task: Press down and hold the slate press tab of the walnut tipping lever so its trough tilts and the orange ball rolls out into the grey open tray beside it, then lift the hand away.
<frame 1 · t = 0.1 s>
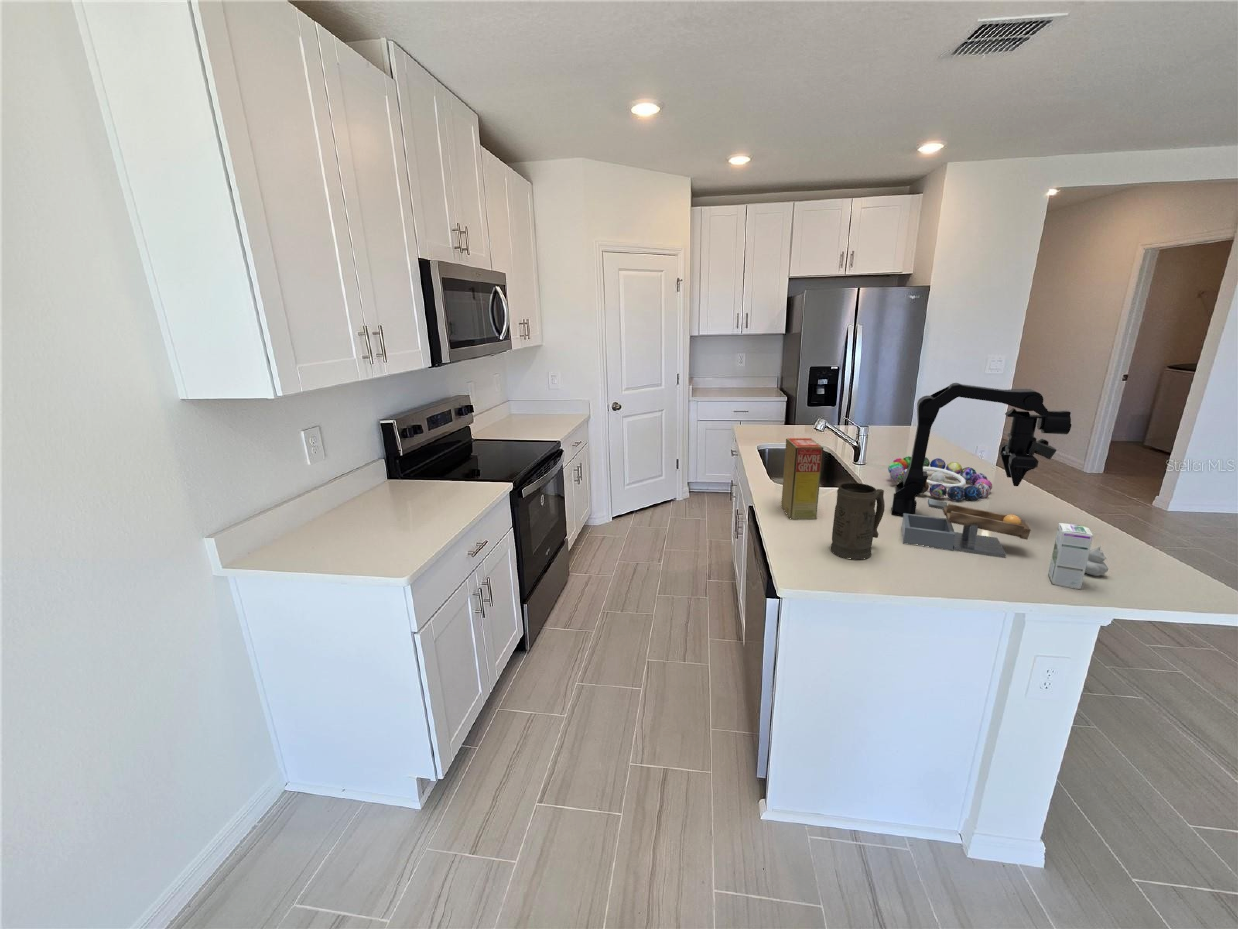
hand: (1012, 481, 155), 15 cm above the countertop, tool pointing down, fingers open, 9 cm apart
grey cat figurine: (1088, 573, 129), on the countertop
lever stand: (967, 544, 147), on the countertop
syrup box: (1063, 582, 126), on the countertop
beer stein: (856, 550, 146), on the countertop
tipping lever: (975, 513, 148), point 8 cm above the countertop, hinge at 6.0°, touching ball
food packaging: (798, 512, 175), on the countertop
grey open tray: (925, 538, 152), on the countertop
decorated egg ring holder: (936, 488, 195), on the countertop
ball: (1011, 521, 141), point 9 cm above the countertop, tilted 60°, touching tipping lever
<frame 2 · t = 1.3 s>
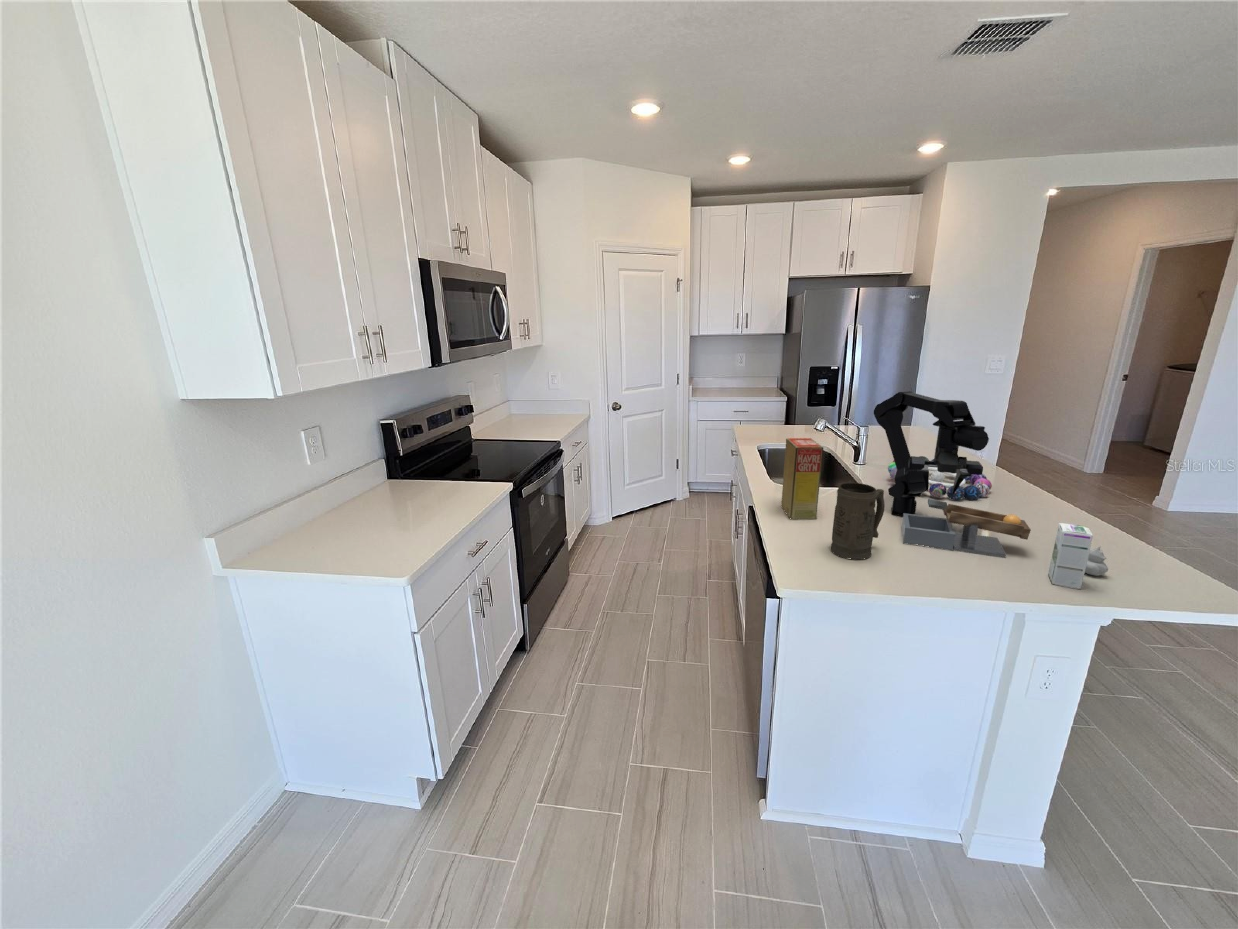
hand: (940, 491, 156), 12 cm above the countertop, tool pointing down, fingers open, 7 cm apart
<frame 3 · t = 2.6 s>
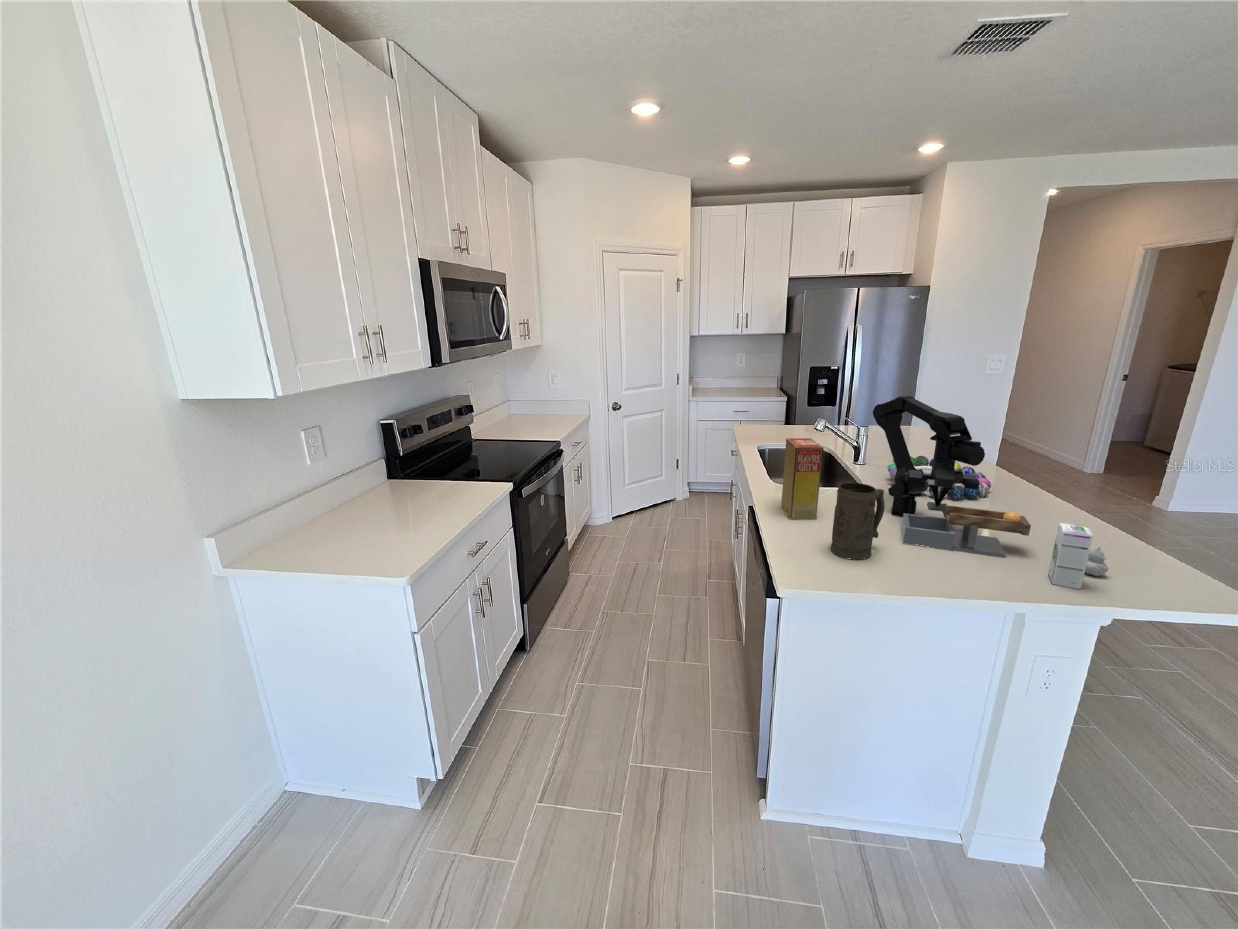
hand: (937, 505, 157), 8 cm above the countertop, tool pointing down, fingers closed, pressing on tipping lever
tipping lever: (974, 513, 148), point 8 cm above the countertop, hinge at 0.4°, touching ball, gripper
ball: (1011, 518, 141), point 9 cm above the countertop, tilted 54°, touching tipping lever
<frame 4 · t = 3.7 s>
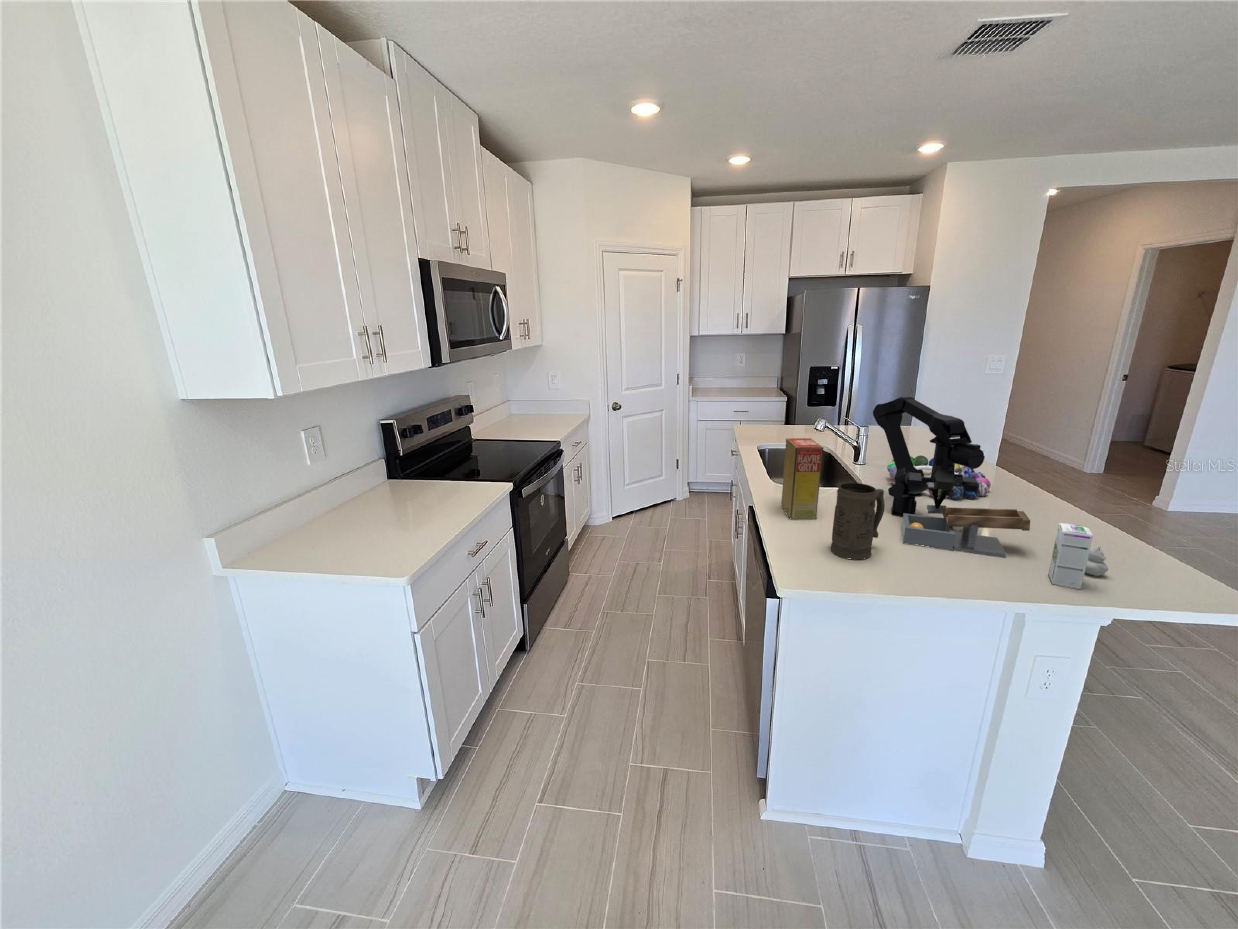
hand: (936, 507, 157), 7 cm above the countertop, tool pointing down, fingers closed, pressing on tipping lever
tipping lever: (974, 512, 148), point 8 cm above the countertop, hinge at -6.2°, touching gripper
ball: (916, 529, 152), point 3 cm above the countertop, tilted 115°, touching grey open tray
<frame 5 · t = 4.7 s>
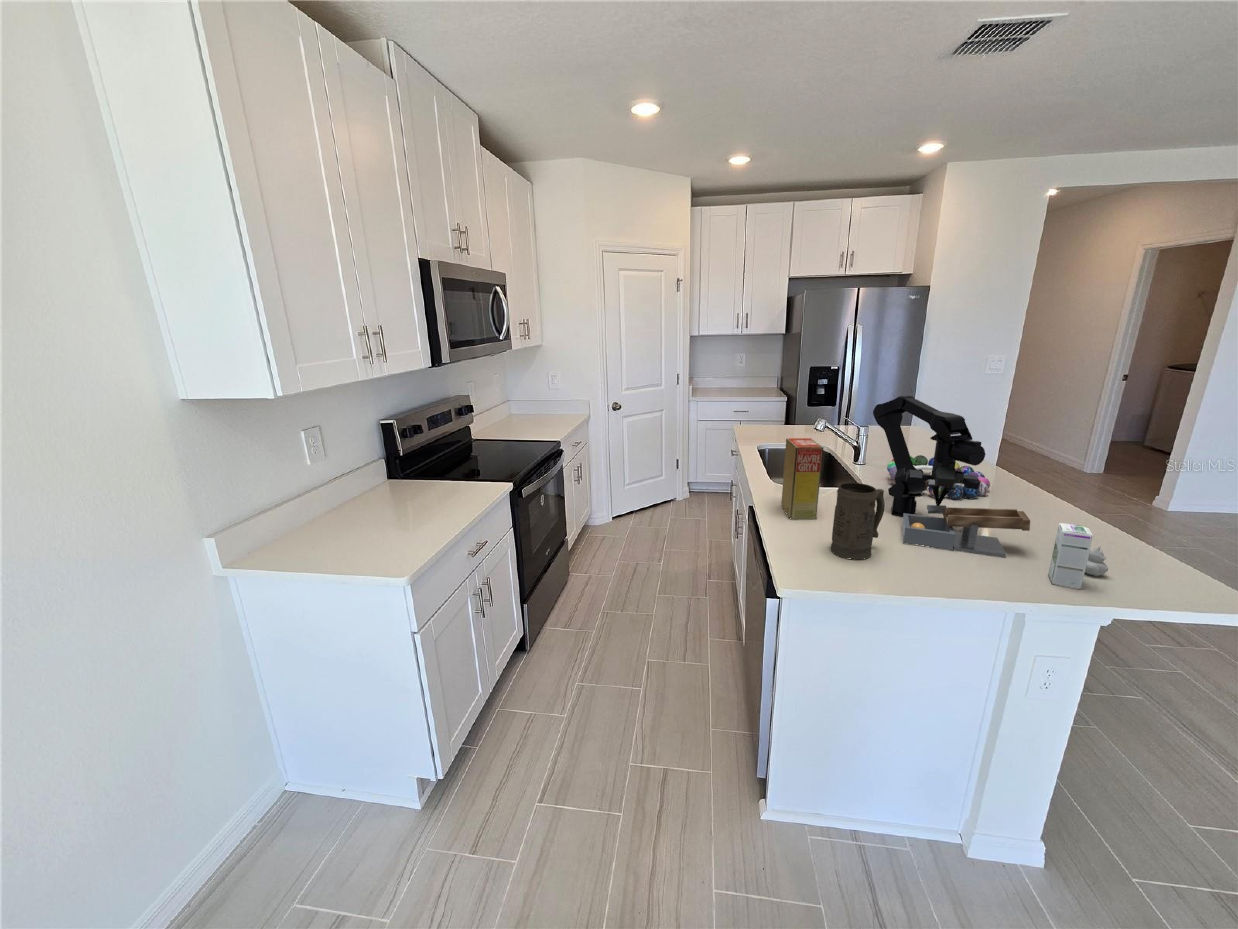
hand: (937, 505, 157), 8 cm above the countertop, tool pointing down, fingers closed
tipping lever: (974, 512, 148), point 8 cm above the countertop, hinge at -6.2°
ball: (917, 529, 152), point 3 cm above the countertop, tilted 127°, touching grey open tray
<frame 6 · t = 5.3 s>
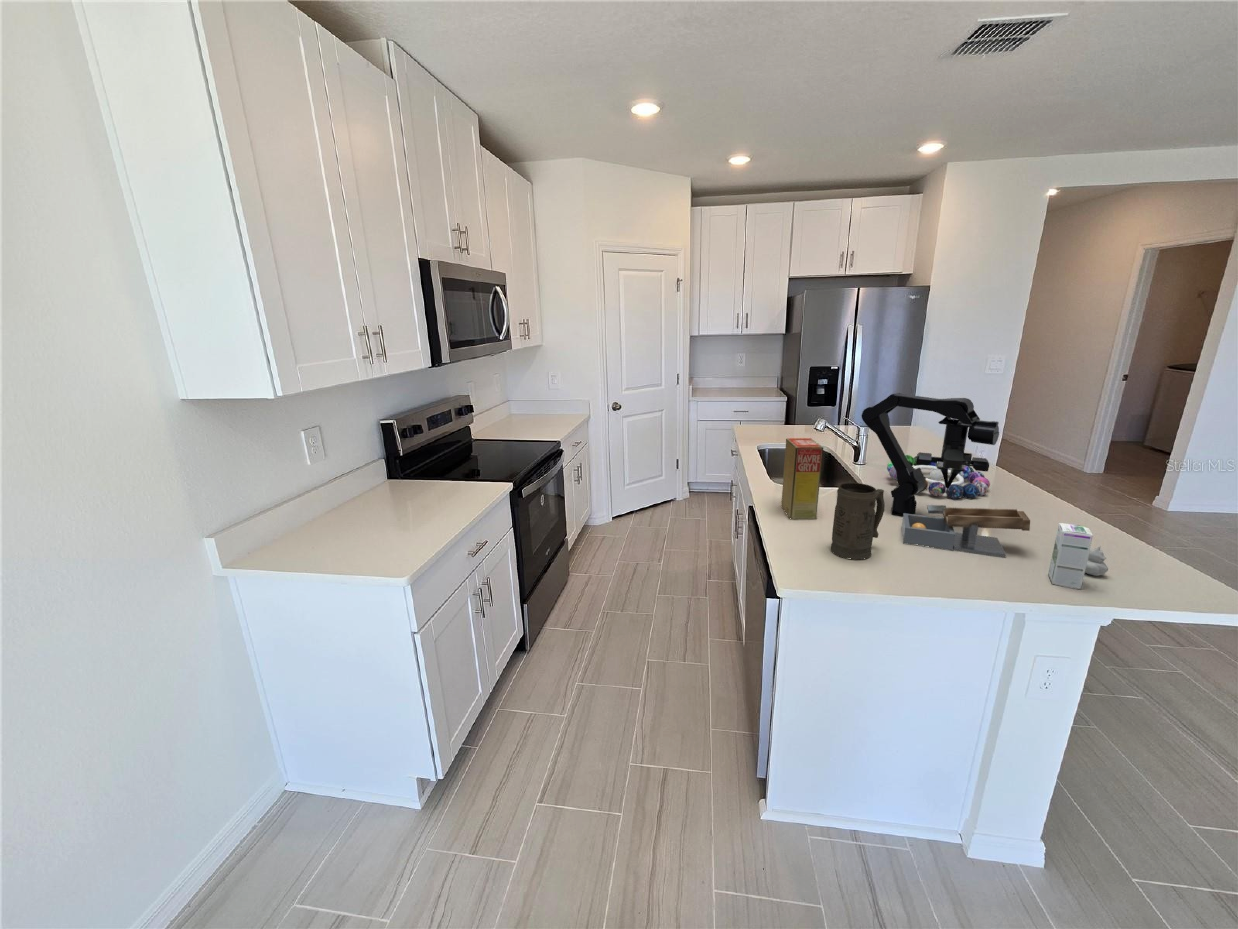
hand: (947, 487, 159), 12 cm above the countertop, tool pointing down, fingers closed
ball: (918, 529, 152), point 3 cm above the countertop, tilted 133°, touching grey open tray
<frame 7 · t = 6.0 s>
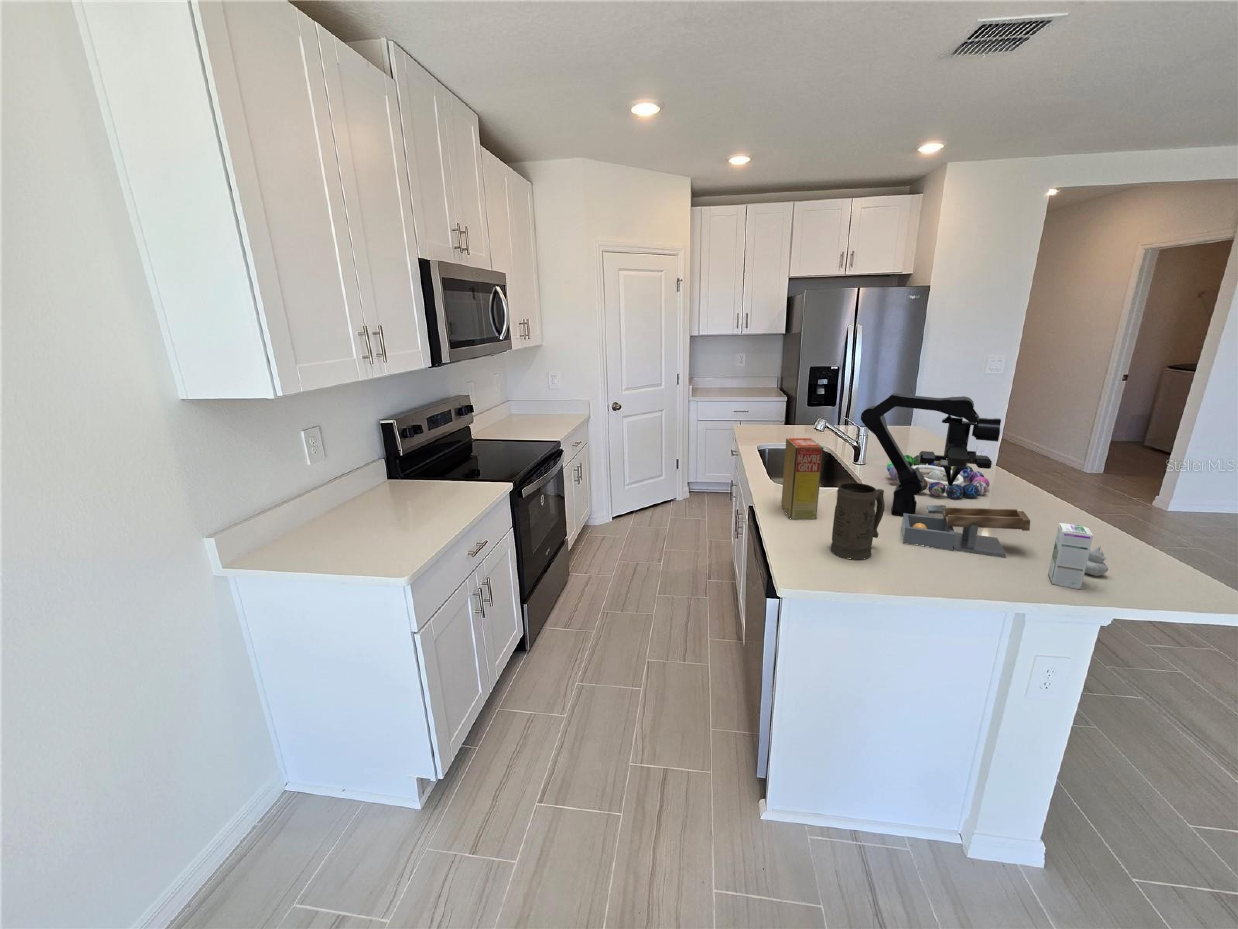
hand: (949, 485, 161), 12 cm above the countertop, tool pointing down, fingers closed
ball: (919, 529, 152), point 3 cm above the countertop, tilted 141°, touching grey open tray
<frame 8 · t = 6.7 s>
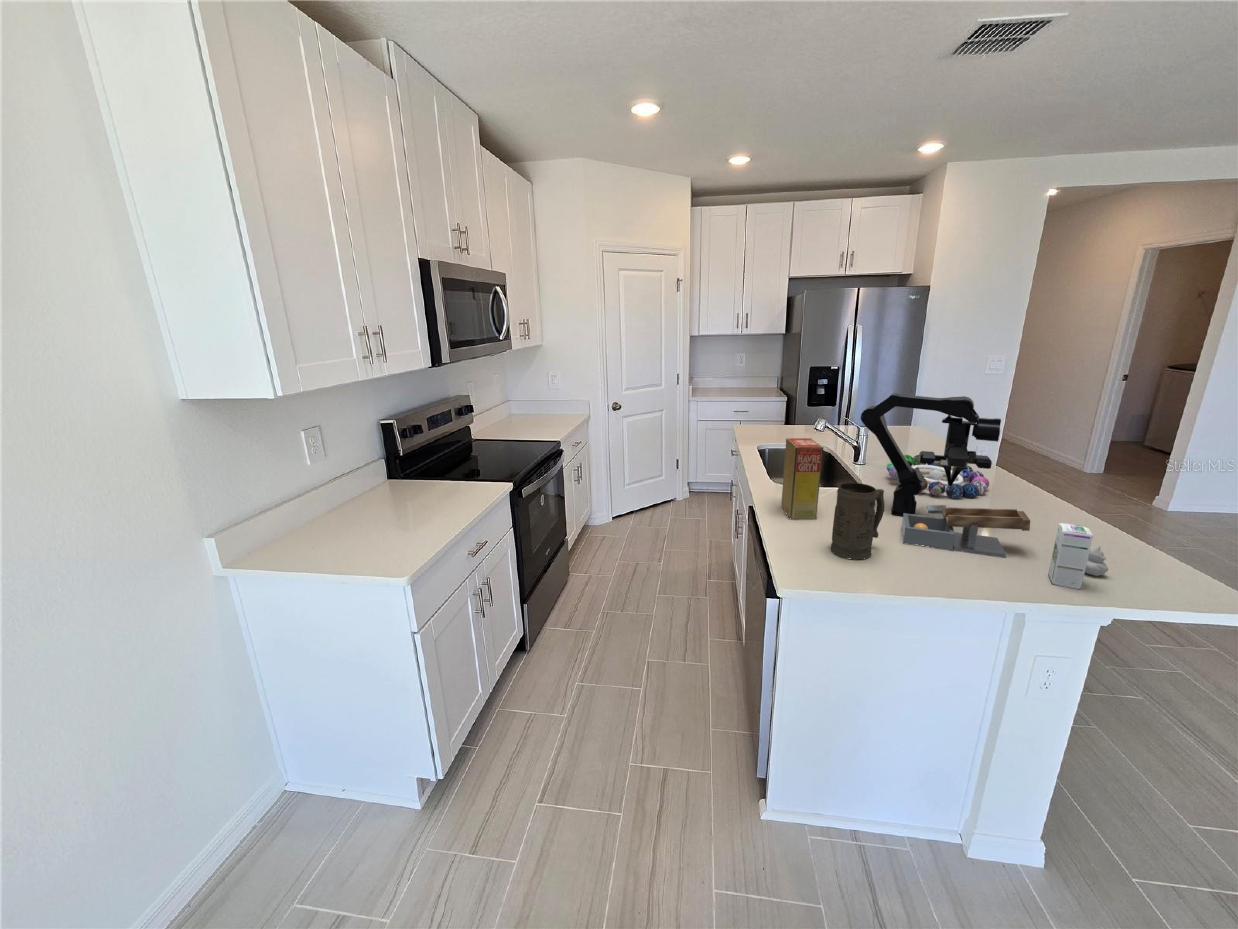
hand: (949, 485, 161), 12 cm above the countertop, tool pointing down, fingers closed
ball: (920, 529, 152), point 3 cm above the countertop, tilted 149°, touching grey open tray
at the end: ball inside the target area on the grey open tray (1.6 cm from its centre), point 2.6 cm above the grey open tray's base; ball moved 20.3 cm from its start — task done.
